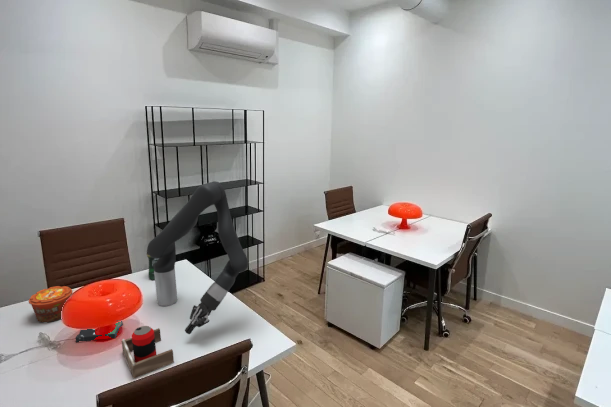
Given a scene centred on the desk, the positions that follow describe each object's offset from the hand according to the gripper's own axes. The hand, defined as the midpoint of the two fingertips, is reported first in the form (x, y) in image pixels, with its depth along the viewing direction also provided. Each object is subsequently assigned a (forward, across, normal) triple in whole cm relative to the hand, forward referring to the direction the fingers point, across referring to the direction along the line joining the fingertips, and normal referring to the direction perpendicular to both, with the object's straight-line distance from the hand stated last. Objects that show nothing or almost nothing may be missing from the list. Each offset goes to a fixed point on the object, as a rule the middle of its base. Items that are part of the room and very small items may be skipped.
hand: (187, 332), depth 139 cm
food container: (+33, -55, -26) cm, 69 cm away
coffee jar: (-2, -67, +8) cm, 68 cm away
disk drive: (+23, -28, -16) cm, 39 cm away
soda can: (+15, 0, -8) cm, 17 cm away
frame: (+14, 0, -7) cm, 15 cm away
